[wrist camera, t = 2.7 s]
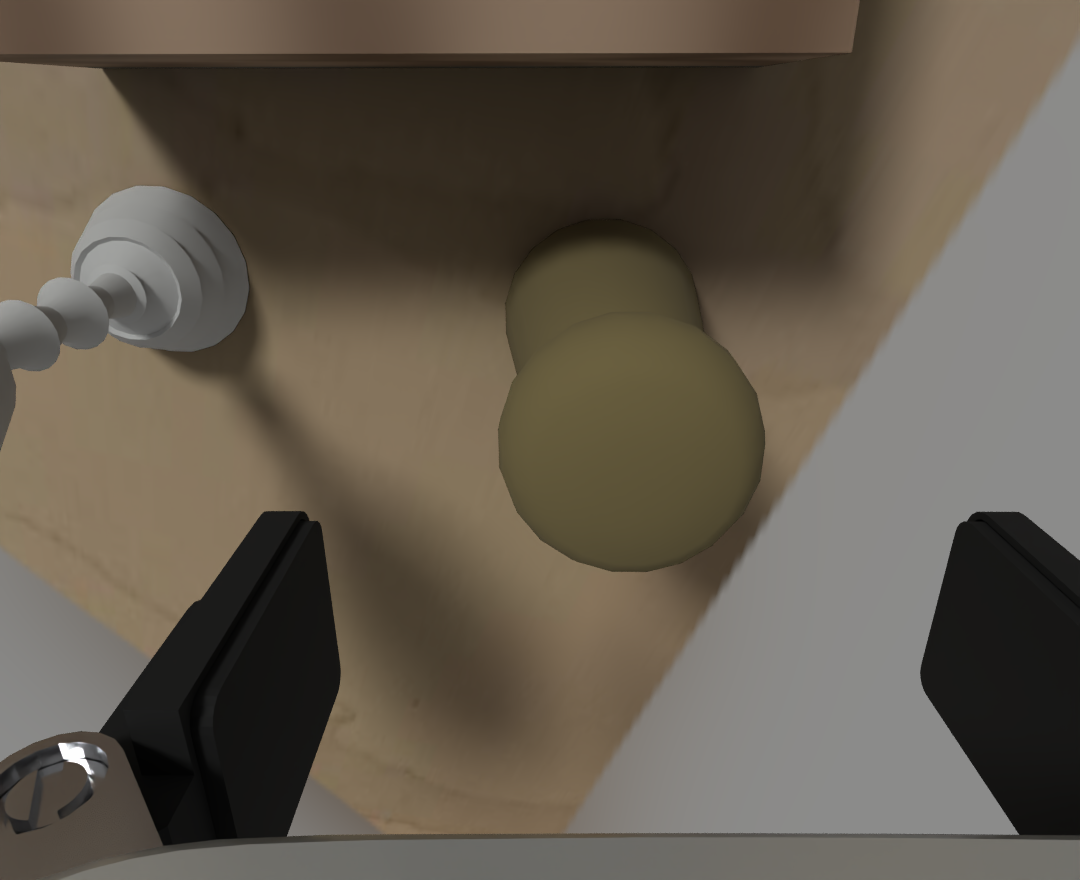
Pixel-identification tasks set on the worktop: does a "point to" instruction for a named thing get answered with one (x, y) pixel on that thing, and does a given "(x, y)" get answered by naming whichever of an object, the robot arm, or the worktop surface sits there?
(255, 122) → the worktop surface
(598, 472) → the cork
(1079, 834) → the robot arm
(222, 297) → the chalice
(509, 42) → the wooden box
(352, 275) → the worktop surface
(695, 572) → the worktop surface
